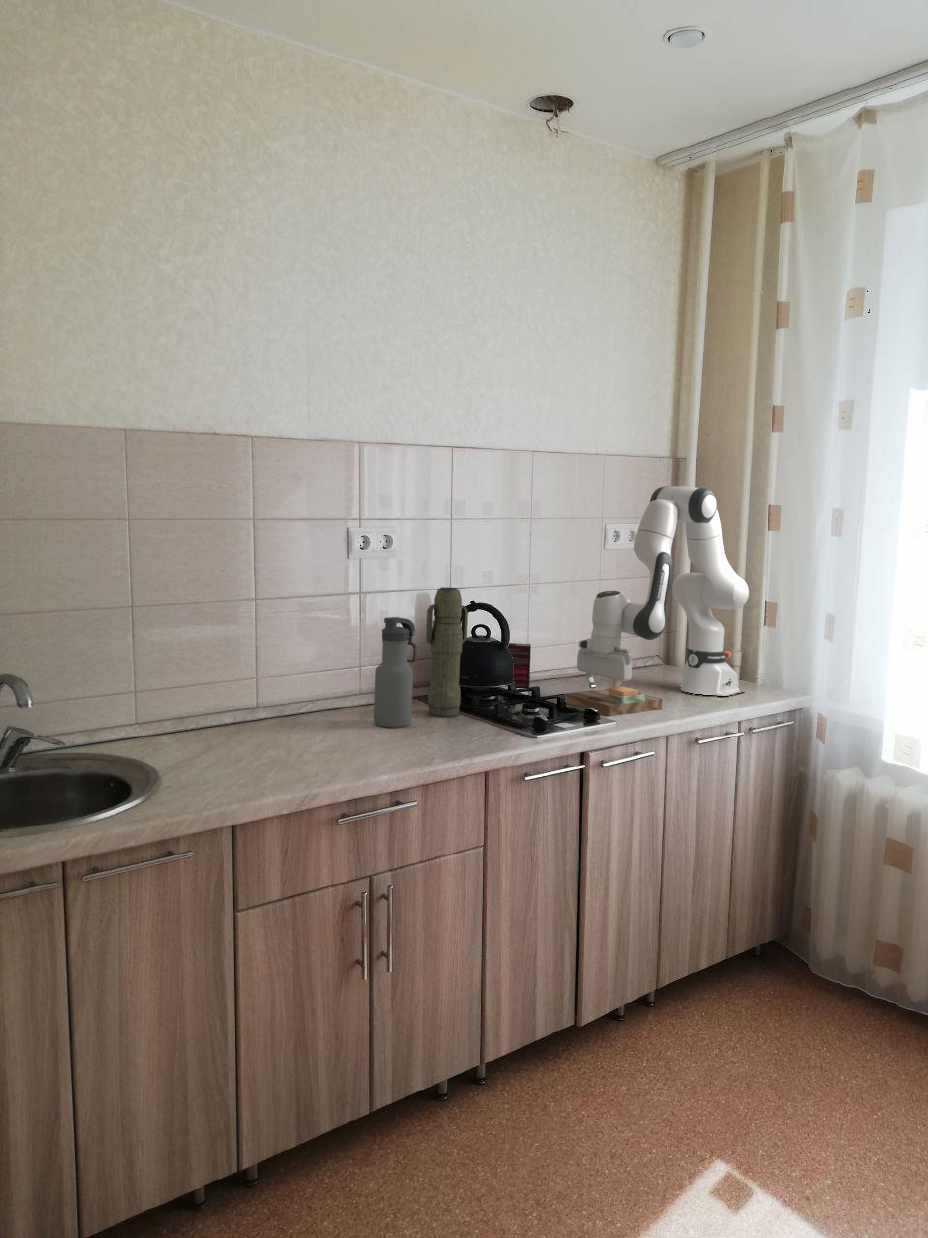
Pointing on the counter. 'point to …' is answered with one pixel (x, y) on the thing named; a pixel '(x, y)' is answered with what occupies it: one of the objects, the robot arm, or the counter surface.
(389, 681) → the water bottle
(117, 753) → the counter surface
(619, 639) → the robot arm
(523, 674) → the supplement box
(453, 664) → the thermos
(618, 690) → the block
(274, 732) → the counter surface
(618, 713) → the board
